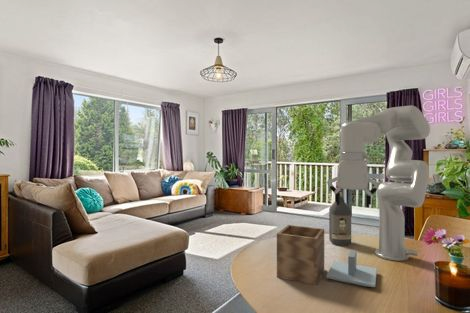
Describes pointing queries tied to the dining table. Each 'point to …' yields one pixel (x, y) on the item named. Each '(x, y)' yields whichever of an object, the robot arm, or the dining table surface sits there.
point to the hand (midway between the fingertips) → (352, 205)
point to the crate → (300, 254)
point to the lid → (353, 272)
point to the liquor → (340, 222)
